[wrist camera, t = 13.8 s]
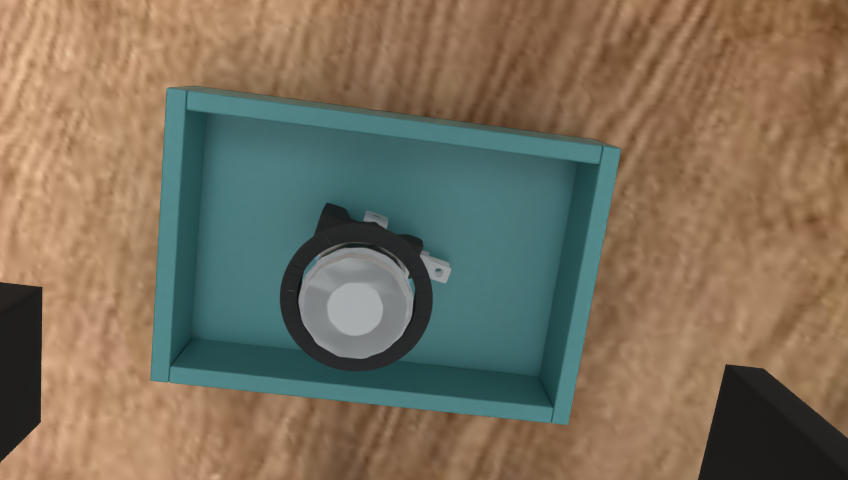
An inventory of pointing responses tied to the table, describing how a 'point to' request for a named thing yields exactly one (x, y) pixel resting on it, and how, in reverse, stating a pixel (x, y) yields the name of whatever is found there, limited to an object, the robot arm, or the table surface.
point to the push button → (358, 292)
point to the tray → (407, 214)
